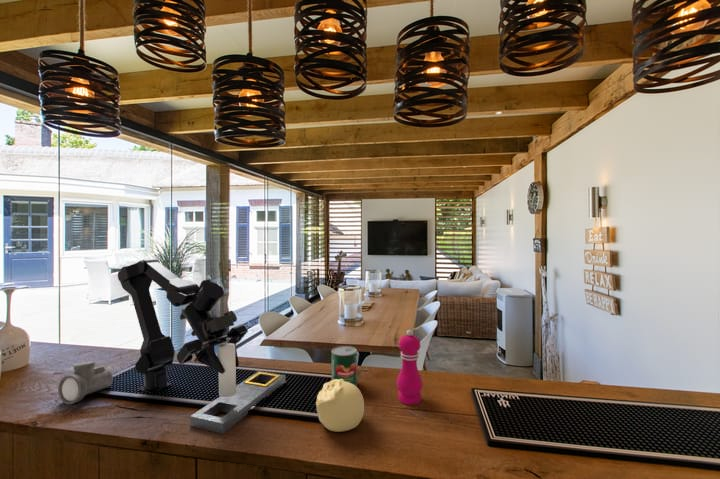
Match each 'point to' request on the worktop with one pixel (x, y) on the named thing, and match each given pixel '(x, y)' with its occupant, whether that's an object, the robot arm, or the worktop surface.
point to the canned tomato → (344, 364)
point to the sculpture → (340, 405)
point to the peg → (227, 370)
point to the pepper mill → (409, 370)
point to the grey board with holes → (236, 402)
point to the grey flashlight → (84, 381)
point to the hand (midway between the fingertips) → (230, 369)
